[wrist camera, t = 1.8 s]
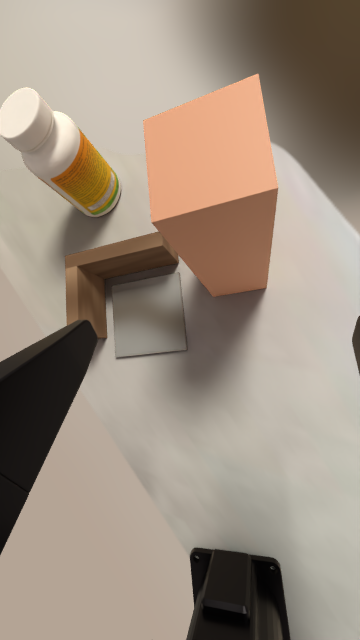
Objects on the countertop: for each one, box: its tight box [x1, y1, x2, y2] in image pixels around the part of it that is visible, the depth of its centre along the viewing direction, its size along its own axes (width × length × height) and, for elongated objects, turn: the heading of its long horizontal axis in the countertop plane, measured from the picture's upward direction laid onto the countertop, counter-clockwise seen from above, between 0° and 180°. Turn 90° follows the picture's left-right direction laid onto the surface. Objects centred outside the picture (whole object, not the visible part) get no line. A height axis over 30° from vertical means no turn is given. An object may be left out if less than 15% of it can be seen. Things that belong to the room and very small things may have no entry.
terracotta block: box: [143, 74, 278, 297], centre depth 15 cm, size 4×4×13 cm
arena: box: [65, 232, 187, 357], centre depth 22 cm, size 9×9×4 cm
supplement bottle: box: [0, 87, 121, 217], centre depth 22 cm, size 5×5×10 cm
